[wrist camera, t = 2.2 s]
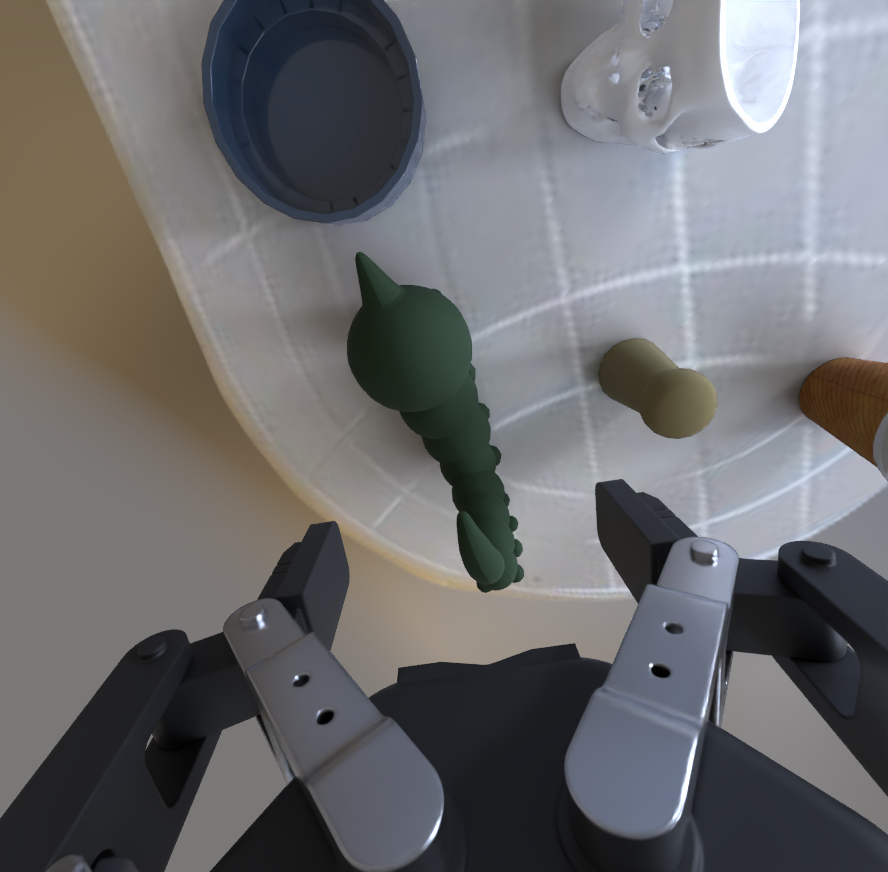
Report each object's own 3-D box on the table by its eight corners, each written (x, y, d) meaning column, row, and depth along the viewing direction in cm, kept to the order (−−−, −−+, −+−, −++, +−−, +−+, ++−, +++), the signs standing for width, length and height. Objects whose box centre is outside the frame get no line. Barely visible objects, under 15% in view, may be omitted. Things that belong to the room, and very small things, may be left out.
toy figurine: (524, 459, 48) (424, 215, 37) (576, 602, 31) (418, 232, 20) (442, 490, 49) (321, 266, 38) (448, 643, 32) (237, 320, 22)
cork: (627, 325, 41) (686, 352, 30) (678, 360, 42) (752, 398, 32) (584, 381, 43) (626, 424, 33) (634, 413, 44) (690, 465, 34)
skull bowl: (532, 5, 31) (715, -133, 21) (663, 22, 37) (852, -78, 27) (542, 180, 35) (699, 135, 25) (658, 169, 41) (822, 130, 31)
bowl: (315, -54, 31) (289, -112, 26) (464, 119, 35) (466, 98, 30) (202, 125, 35) (160, 105, 30) (345, 262, 39) (330, 266, 34)
